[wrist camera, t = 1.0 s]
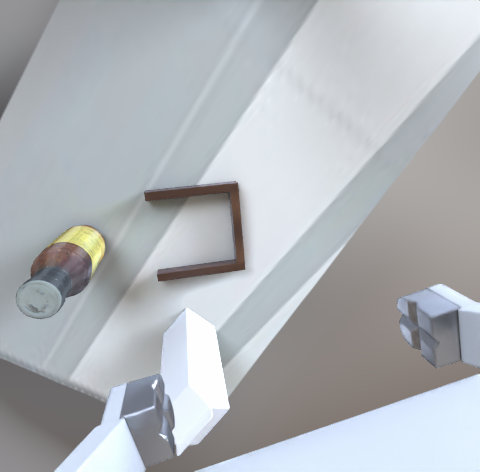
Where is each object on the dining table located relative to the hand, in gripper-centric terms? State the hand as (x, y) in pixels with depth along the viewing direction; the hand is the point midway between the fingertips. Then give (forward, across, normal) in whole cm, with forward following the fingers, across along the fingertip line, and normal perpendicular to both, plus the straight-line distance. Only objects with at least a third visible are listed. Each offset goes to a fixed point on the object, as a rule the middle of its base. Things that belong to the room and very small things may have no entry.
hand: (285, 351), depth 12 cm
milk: (+44, +8, +22) cm, 50 cm away
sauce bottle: (+44, +19, +3) cm, 47 cm away
